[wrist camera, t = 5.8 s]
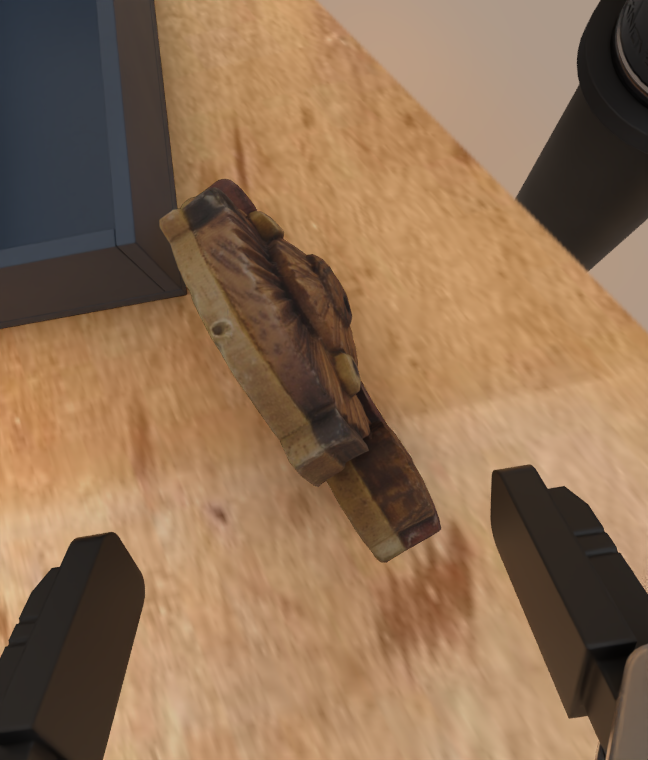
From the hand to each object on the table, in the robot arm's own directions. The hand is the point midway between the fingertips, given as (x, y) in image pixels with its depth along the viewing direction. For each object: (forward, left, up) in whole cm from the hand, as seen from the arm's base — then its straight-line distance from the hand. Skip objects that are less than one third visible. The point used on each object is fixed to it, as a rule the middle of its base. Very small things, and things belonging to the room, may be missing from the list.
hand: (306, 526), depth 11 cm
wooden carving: (0, -6, -12) cm, 14 cm away
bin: (+11, -22, -12) cm, 27 cm away
